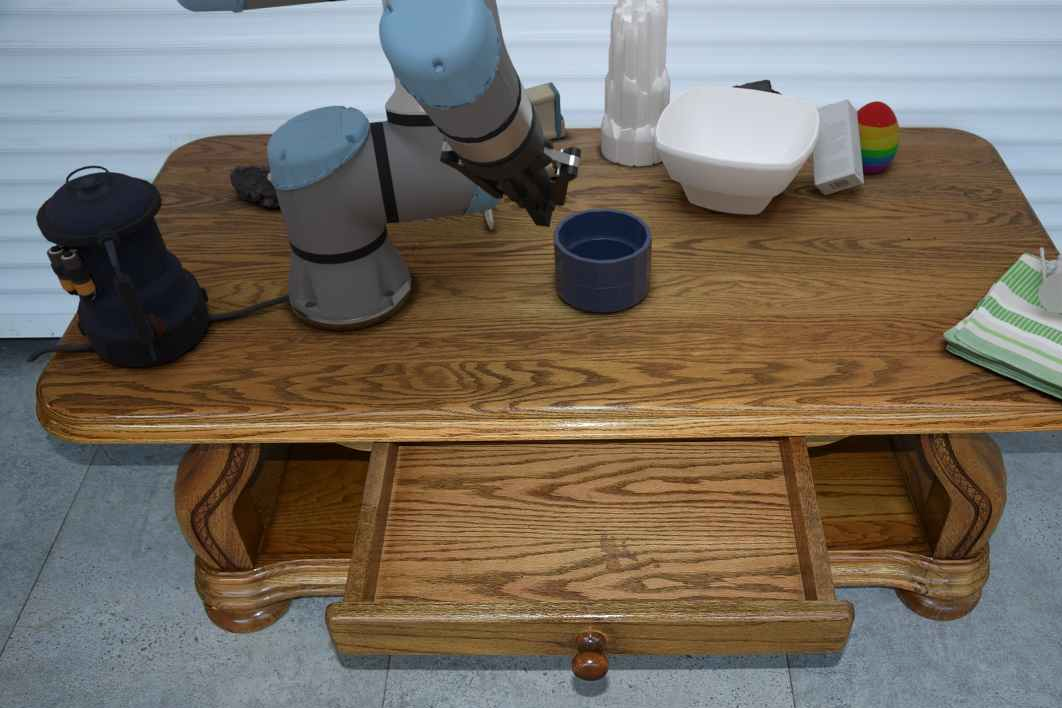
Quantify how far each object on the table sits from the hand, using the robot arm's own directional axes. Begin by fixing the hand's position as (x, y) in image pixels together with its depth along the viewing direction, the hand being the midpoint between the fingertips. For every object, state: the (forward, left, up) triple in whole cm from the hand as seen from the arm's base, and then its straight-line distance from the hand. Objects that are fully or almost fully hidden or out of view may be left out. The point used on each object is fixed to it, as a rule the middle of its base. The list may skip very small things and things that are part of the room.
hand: (545, 213), depth 99 cm
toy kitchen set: (+2, +45, -12) cm, 47 cm away
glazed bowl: (+9, +11, -19) cm, 23 cm away
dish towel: (+59, -11, -19) cm, 63 cm away
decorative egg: (+55, +32, -19) cm, 66 cm away
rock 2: (+44, +53, -14) cm, 70 cm away
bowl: (+32, +28, -19) cm, 46 cm away
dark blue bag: (-48, +22, -8) cm, 54 cm away
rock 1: (-32, +43, -19) cm, 57 cm away
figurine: (+60, -10, -14) cm, 62 cm away
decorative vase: (+22, +45, -19) cm, 54 cm away
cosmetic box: (+47, +23, -16) cm, 54 cm away
